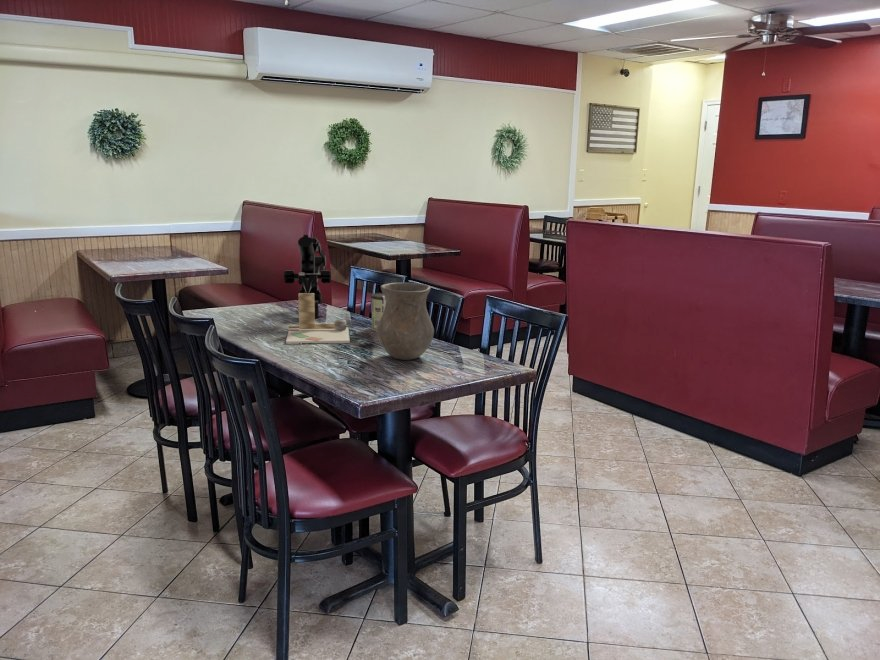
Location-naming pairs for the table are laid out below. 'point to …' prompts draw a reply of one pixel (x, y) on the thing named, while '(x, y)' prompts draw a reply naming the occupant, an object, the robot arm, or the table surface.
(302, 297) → the lever
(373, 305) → the coffee can
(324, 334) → the dial board
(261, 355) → the table surface
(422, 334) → the vase
